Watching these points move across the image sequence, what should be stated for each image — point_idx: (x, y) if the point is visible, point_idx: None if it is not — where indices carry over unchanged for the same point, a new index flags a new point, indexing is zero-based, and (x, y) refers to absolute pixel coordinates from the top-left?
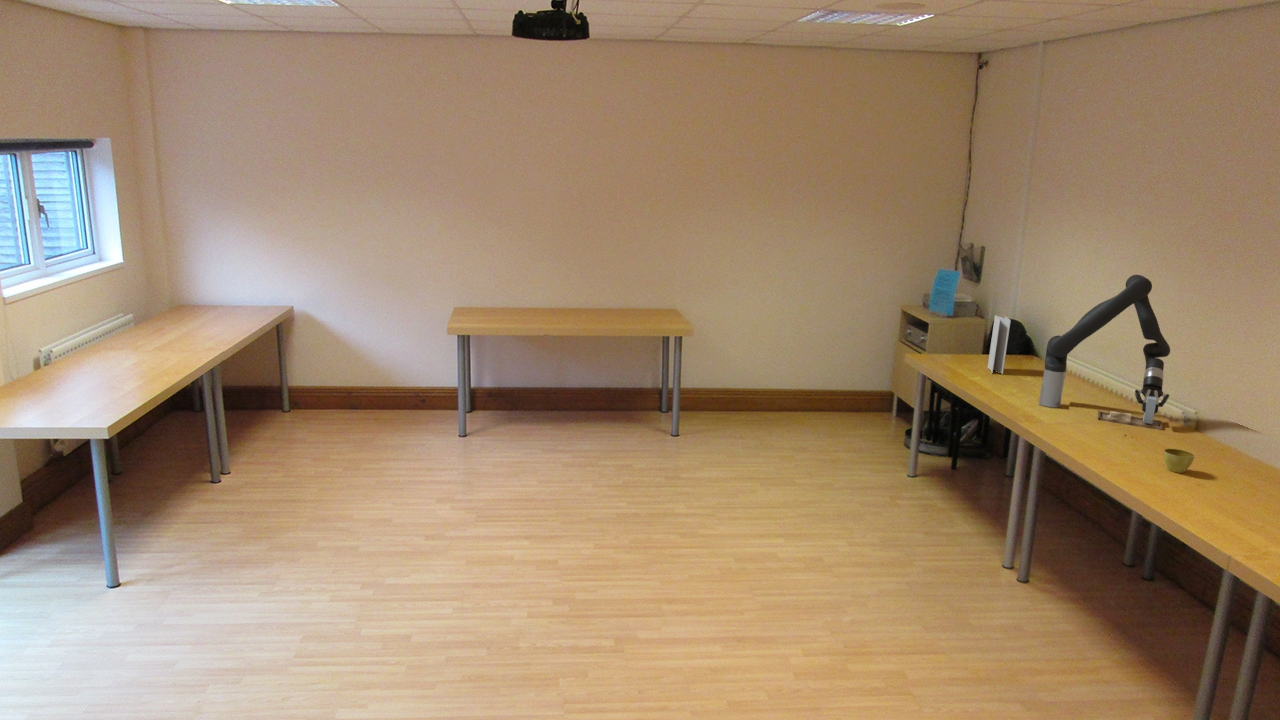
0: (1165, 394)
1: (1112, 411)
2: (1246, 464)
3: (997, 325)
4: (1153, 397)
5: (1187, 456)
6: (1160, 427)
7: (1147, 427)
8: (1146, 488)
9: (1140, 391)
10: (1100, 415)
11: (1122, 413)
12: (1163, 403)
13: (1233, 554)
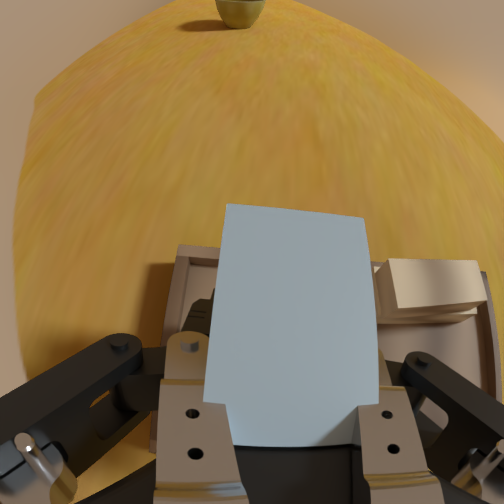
0: (2, 496)
1: (479, 296)
2: (64, 88)
3: None
4: (262, 383)
5: (221, 7)
6: (192, 247)
7: None
8: (287, 5)
9: (492, 500)
10: (486, 381)
11: (436, 281)
12: (104, 337)
13: None
